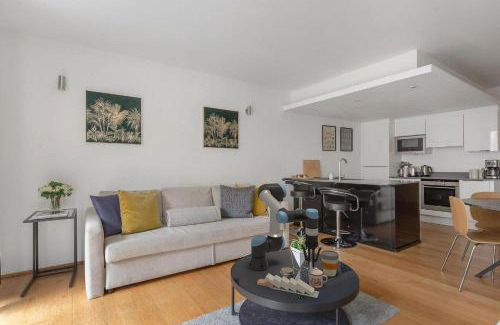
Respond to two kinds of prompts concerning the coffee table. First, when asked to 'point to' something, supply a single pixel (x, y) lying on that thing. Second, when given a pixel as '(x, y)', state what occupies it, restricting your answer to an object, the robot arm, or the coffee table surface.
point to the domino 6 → (305, 287)
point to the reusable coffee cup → (329, 262)
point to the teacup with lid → (316, 278)
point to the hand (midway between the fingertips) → (311, 272)
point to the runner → (315, 293)
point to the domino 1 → (264, 283)
